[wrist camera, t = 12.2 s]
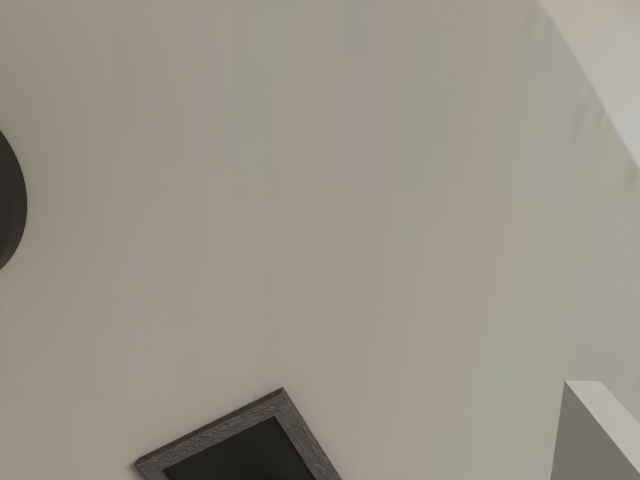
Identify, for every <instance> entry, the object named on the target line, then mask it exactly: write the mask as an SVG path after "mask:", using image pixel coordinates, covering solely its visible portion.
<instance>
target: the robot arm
mask: <svg viewBox="0 0 640 480" xmlns="http://www.w3.org/2000/svg"><path fill="white" fill-rule="evenodd" d="M26 216H27V194H26V187H25V182H24V178H23V174H22V171H21V168H20V165H19V163H18V160H17V158H16V156H15V153H14V152H13V150H12V148H11V146H10V144H9V143H8V141H7V139H6V138H5V136H4V135H3V134H2V132H1V131H0V270H1V269H2V268H3V267H4V266H5V265H6V263H7V262H8V261H9V260H10V258H11V257H12V255H13V254H14V252H15V251H16V249H17V247H18V245H19V243H20V240H21V238H22V235H23V232H24V228H25V223H26ZM551 480H640V424H639V423H638V422H637V421H636V420H635V419H634V417H633V416H632V415H631V414H630V413H629V412H628V411H627V410H626V409H625V408H624V407H623V406H622V405H621V403H620V402H619V401H618V400H617V399H616V398H615V397H614V396H613V395H612V394H611V393H610V392H609V391H608V389H607V388H606V387H605V386H604V385H603V384H602V383H601V382H599V381H565V382H564V389H563V396H562V403H561V410H560V417H559V424H558V431H557V438H556V445H555V452H554V459H553V466H552V473H551Z"/></svg>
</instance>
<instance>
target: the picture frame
mask: <svg viewBox="0 0 640 480" xmlns="http://www.w3.org/2000/svg"><path fill="white" fill-rule="evenodd" d="M135 468H136V469H137V470H138V472H139V473H140V474H141V476H142V477H143V478H144V480H342V479H341V478H340V476H339V474H338V473H337V471H336V470H335V468H334V467H333V465H332V463H331V462H330V460H329V459H328V457H327V456H326V454H325V452H324V451H323V449H322V448H321V446H320V445H319V443H318V441H317V440H316V438H315V437H314V435H313V434H312V432H311V430H310V429H309V427H308V426H307V424H306V423H305V421H304V419H303V418H302V416H301V415H300V413H299V412H298V410H297V408H296V407H295V405H294V404H293V402H292V401H291V399H290V397H289V396H288V394H287V393H286V391H285V390H284V388H283V387H282V388H280V389H278V390H276V391H274V392H272V393H270V394H268V395H266V396H264V397H262V398H260V399H258V400H256V401H254V402H252V403H250V404H248V405H246V406H244V407H242V408H240V409H238V410H236V411H234V412H232V413H230V414H228V415H226V416H223V417H221V418H219V419H217V420H215V421H213V422H211V423H209V424H207V425H205V426H203V427H201V428H199V429H197V430H195V431H193V432H191V433H189V434H187V435H185V436H183V437H181V438H179V439H177V440H175V441H173V442H171V443H169V444H167V445H165V446H163V447H161V448H159V449H157V450H155V451H153V452H151V453H149V454H147V455H145V456H143V457H141V458H139V459H138V460H137V462H136V464H135Z"/></svg>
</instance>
